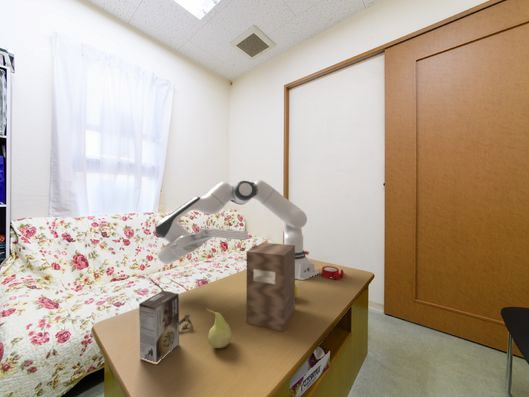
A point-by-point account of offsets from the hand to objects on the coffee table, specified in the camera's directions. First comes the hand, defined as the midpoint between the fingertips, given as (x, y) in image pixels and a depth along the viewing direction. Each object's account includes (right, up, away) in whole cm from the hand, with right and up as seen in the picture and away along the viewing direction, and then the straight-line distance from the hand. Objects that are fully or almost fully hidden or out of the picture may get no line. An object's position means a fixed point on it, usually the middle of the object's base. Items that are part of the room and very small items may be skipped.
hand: (208, 231), depth 94 cm
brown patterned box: (+27, -31, -10) cm, 42 cm away
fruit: (+10, -31, -27) cm, 43 cm away
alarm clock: (+64, -31, +31) cm, 77 cm away
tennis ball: (+36, -31, +4) cm, 47 cm away
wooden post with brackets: (-5, -31, -19) cm, 37 cm away
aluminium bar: (+7, -2, -3) cm, 8 cm away
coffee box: (-7, -32, -30) cm, 44 cm away
